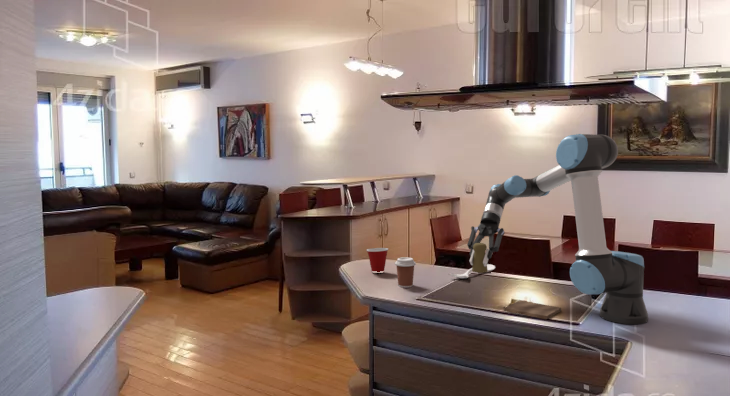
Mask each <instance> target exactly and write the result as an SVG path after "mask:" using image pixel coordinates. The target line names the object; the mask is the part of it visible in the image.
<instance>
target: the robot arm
mask: <svg viewBox="0 0 730 396" xmlns="http://www.w3.org/2000/svg"><path fill="white" fill-rule="evenodd" d="M618 154H619V147H618V145H617V143H616V141H615V140H614V139H613V138H612V137H611V136H609V135H605V134H601V133H600V134H597V133H596V134H594V133H591V134H589V133H588V134H585V133H583V134H581V133H576V134H570V135H567V136H565V137H564V138H562V139H561V141H560V143H559V144H558V146H557V147H556V152H555V158H556V163H557V164H558V165H556V166H554V167H552V168H550V169H548V170H546V171H545V172H542V173H541V174H539V175H537V176H535V177H532V178H523V177H522V176H520V175H516V174H515V175H512V176H511V177H508V178H507V179H506V180H505V181H504V182H502V183H497V184H493V185H492V186H491V188H490V190H489V192H488V195H487V199H486V202H485V207H484V208H483V209H484V210H483V212H482V216H481V218H480V223H479V224H478V225H477V226H471V227H470V229H471V233H470V235H469V239H468V241H467V244H466V245H467V248H468V249H469V251H470V252H469V257H470V258H469V264H470V265H471V266H473V259H474V252H475V251H474V250H473V245H474V244H475V243H482V241H483V239H484V238H485V237H488V248H487V249H486V251H485V257H484V260H483V264H484V266H485V267H486V266H487V264H489V263H488V262H489V259H491V258H492V256H493V253H494V252H495V253H496V252H499V250H500V249H499V248H500V245H501V242H502V239H503V237H504V236H505V233H506V232H505V229H504V228H503V227H501V228H500V223H501V219H502V217H503V213H504V209H505V205H506V204H508V203H509V202H510V201H513V200H514V199H516V198H517V199H518V198H532V197H539V198H540V197H545V196H548V195H549V194H550V192H551V191H552V190H554V189H556V188H558V187H560V186H562V185H565V184H567V183H569V182H571V190H572V200H573V208H574V215H575V216H574V217H575V224H576V232H577V233H576V234H577V240H578V251H577V252H576V253H575V254H574V256H575V257H574V258H575V261H574V262H573V263H572V264H571V266H570V268H569V277H570V280H571V282H572V284H573V286H574V287H575V288H576V289H577V290H578V291H579V293H580V292H581V293H582V294H584V295H600V294H604V293H605V296H604V298H603V302H602V304H601V306H600V310H599V316H600V317H601V318H602V319H604V320H606V321H609V322H613V323H618V324H623V325H624V324H626V325H641V324H645V323H647V322H648V320H649V313H648V310H647V308H646V304H645V301H644V277H645V276H644V275H645V273H644V271H645V261H644V257H643V255H641V254H637V253H633V252H632V253H631V252H626V251H625V252H624V251H617V250H610V249H609V248H608V247H607V241H606V232H605V223H604V215H603V208H602V206H603V205H602V199H601V192H600V184H599V176H600V175H601V173H602V172H603V170H604V169H606V168H608V167H610V166H611V165H612V164H613V163H614V162H615V161H616V160H617V158H618V156H619V155H618ZM477 233H478V234H477ZM496 233H497V235H496V238H495V237H494V235H495V234H496ZM476 235H477V236H476ZM494 238H495V241H494Z"/></svg>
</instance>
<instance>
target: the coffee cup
mask: <svg viewBox="0 0 730 396" xmlns="http://www.w3.org/2000/svg"><path fill="white" fill-rule="evenodd" d="M394 265H395V266H396V273H397V286H398V287H399V288H411V287H413V286H414V275H415V266H416V265H417V263H416V261H415V260H414V258H412V257H406V256H405V257H402V256H401V257H397V260H396V261H395V262H394Z"/></svg>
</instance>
